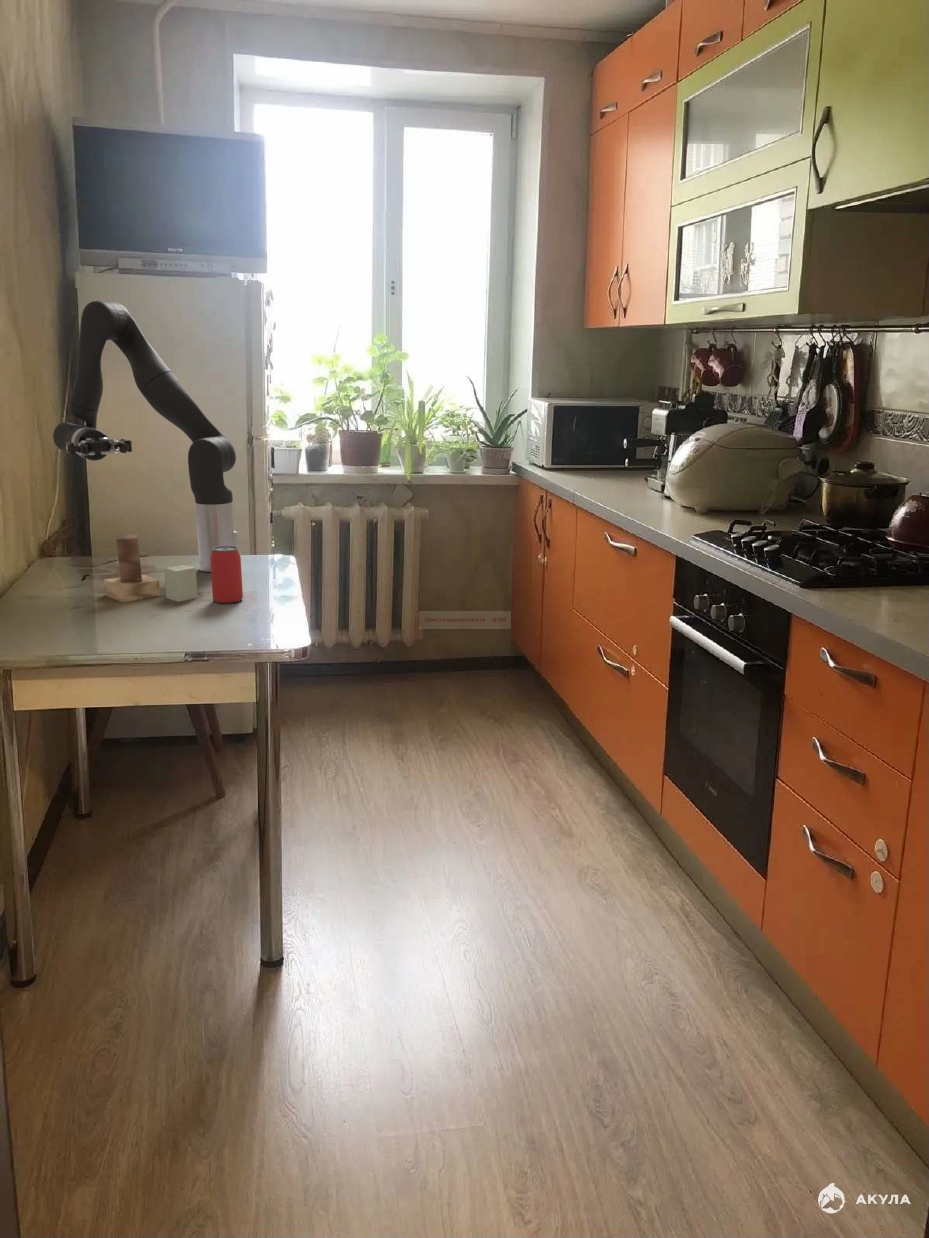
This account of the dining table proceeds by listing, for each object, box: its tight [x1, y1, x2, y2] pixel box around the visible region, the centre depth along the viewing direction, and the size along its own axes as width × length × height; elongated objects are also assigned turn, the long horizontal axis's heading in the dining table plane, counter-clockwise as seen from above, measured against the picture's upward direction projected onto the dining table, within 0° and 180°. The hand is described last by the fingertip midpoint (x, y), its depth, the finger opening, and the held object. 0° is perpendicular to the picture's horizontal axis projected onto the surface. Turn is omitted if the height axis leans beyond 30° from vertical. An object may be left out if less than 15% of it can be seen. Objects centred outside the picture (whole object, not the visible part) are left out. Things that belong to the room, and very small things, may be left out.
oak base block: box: [103, 573, 161, 603], centre depth 229 cm, size 9×9×4 cm
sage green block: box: [163, 564, 198, 603], centre depth 227 cm, size 5×5×7 cm
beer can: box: [210, 546, 244, 604], centre depth 224 cm, size 7×7×12 cm
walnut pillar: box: [115, 533, 142, 583], centre depth 227 cm, size 4×4×10 cm
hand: (106, 449), depth 232 cm, fingers open, 8 cm apart
